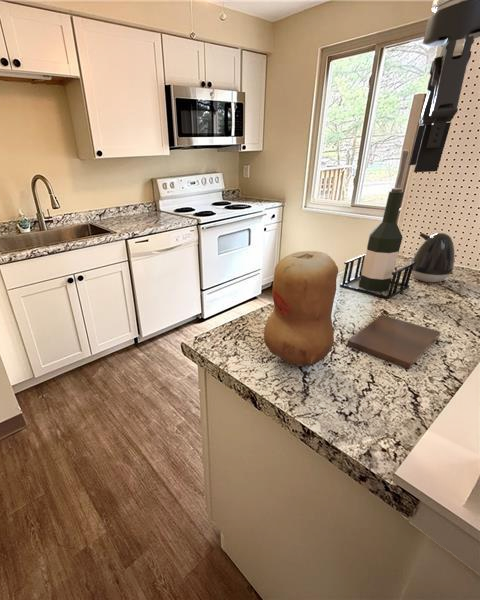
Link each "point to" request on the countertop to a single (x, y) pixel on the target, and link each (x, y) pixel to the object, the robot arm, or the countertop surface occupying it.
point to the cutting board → (394, 340)
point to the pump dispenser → (434, 258)
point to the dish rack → (402, 285)
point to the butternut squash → (302, 308)
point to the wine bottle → (383, 247)
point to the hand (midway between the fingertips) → (421, 168)
